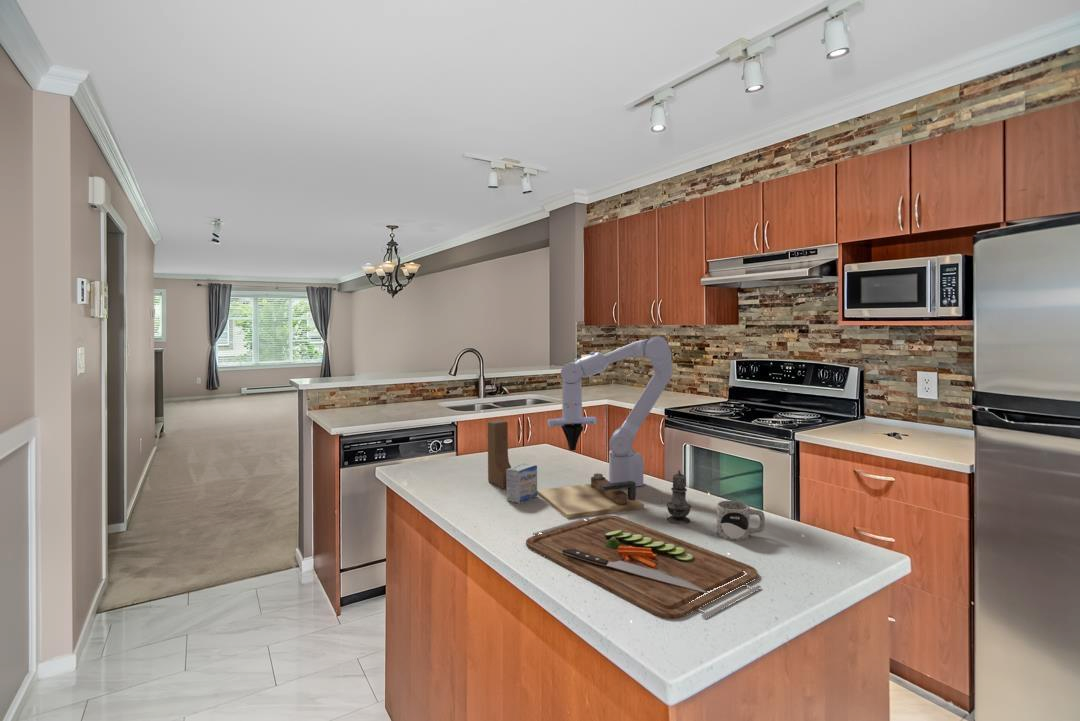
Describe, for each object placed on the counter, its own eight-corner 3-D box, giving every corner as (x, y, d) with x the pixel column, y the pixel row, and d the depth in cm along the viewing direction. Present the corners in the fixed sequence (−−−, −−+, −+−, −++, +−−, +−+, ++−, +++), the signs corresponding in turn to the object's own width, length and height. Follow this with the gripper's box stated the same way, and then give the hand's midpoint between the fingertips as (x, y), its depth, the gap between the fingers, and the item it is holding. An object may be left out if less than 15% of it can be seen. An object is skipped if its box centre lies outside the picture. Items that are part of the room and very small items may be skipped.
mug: (719, 540, 120) (720, 509, 119) (714, 529, 126) (714, 500, 126) (768, 542, 118) (769, 511, 118) (760, 531, 125) (761, 501, 125)
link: (588, 484, 157) (588, 473, 157) (602, 483, 158) (602, 472, 158) (616, 505, 139) (616, 492, 139) (631, 503, 140) (631, 490, 140)
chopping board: (778, 583, 101) (778, 566, 101) (683, 634, 85) (684, 614, 85) (603, 516, 137) (603, 503, 136) (513, 542, 120) (513, 528, 120)
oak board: (605, 485, 160) (605, 482, 160) (644, 507, 141) (644, 504, 141) (536, 493, 153) (536, 490, 153) (567, 518, 133) (567, 514, 133)
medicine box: (519, 504, 144) (519, 471, 144) (506, 501, 147) (505, 468, 147) (537, 496, 151) (537, 464, 150) (524, 493, 153) (524, 462, 153)
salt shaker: (692, 525, 129) (693, 473, 128) (666, 523, 130) (666, 472, 129) (690, 516, 134) (691, 467, 134) (665, 515, 136) (666, 466, 135)
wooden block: (516, 486, 160) (516, 423, 159) (503, 489, 158) (502, 425, 156) (500, 479, 167) (500, 419, 166) (487, 481, 165) (486, 421, 164)
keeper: (632, 501, 146) (632, 480, 146) (636, 503, 144) (636, 482, 144) (600, 505, 143) (600, 484, 142) (603, 508, 141) (603, 486, 140)
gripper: (552, 406, 157) (552, 454, 158) (600, 404, 162) (600, 450, 163) (545, 403, 164) (545, 449, 165) (591, 401, 168) (591, 445, 169)
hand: (572, 449), depth 164 cm, fingers closed
